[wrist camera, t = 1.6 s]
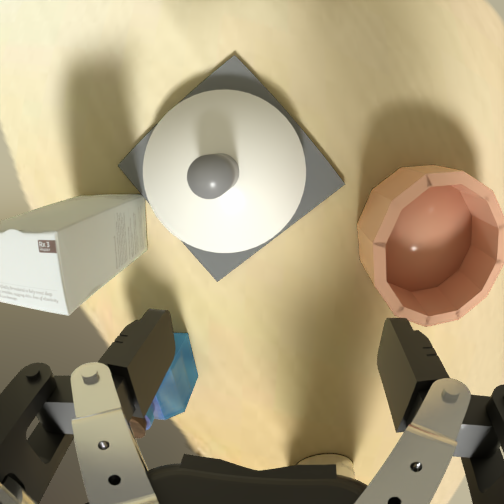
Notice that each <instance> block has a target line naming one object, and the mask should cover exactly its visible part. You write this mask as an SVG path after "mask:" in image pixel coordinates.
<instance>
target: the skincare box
mask: <svg viewBox="0 0 504 504" xmlns="http://www.w3.org/2000/svg"><path fill="white" fill-rule="evenodd" d="M146 251H147V234H146V210H145V198H144V197H143V195H142V194H105V195H92V196H77V197H74V198H70V199H67V200H64V201H60V202H57V203H54V204H50V205H47V206H44V207H41V208H38V209H35V210H32V211H29V212H26V213H23V214H20V215H17V216H14V217H11V218H8V219H6V220H3V221H0V302H4V303H9V304H14V305H18V306H23V307H27V308H32V309H37V310H42V311H47V312H52V313H58V314H64V315H70V314H71V313H72V312H73V311H74V310H75V309H76V308H78V307H79V306H80V305H81V304H82V303H83V302H85V301H86V300H87V299H88V298H89V297H90V296H91V295H93V294H94V293H95V292H96V291H97V290H98V289H100V288H101V287H102V286H104V285H105V284H106V283H107V282H108V281H110V280H111V279H112V278H113V277H115V276H116V275H117V274H118V273H119V272H121V271H122V270H123V269H124V268H126V267H127V266H128V265H129V264H131V263H132V262H133V261H134V260H136V259H137V258H138V257H139V256H141V255H142V254H143V253H144V252H146Z"/></svg>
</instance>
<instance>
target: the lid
mask: <svg viewBox="0 0 504 504" xmlns="http://www.w3.org/2000/svg"><path fill="white" fill-rule="evenodd" d="M143 181H144V188H145V192H146V195H147V198H148V201H149V203H150V206H151V208H152V209H153V211H154V213H155V215H156V216H157V218H158V219H159V220H160V222H161V223H162V224H163V225H164V226H165V227H166V228H167V229H168V231H169V232H171V233H172V234H173V235H174V236H176V237H177V238H178V239H180V240H182V241H183V242H185V243H186V244H189V245H191V246H193V247H195V248H198V249H201V250H205V251H210V252H215V253H234V252H240V251H245V250H248V249H251V248H254V247H257V246H259V245H261V244H263V243H265V242H267V241H268V240H270V239H271V238H273V237H274V236H275V235H276V234H278V233H279V232H280V231H281V230H282V229H283V228H284V227H285V226H286V224H287V223H288V222H289V221H290V219H291V218H292V216H293V215H294V213H295V212H296V210H297V208H298V206H299V204H300V201H301V198H302V195H303V192H304V187H305V181H306V163H305V156H304V152H303V148H302V145H301V142H300V140H299V137H298V135H297V133H296V132H295V130H294V128H293V126H292V125H291V124H290V122H289V121H288V120H287V118H286V117H285V116H284V115H283V114H282V113H281V112H280V111H279V110H278V109H276V108H275V107H274V106H273V105H271V104H270V103H268V102H267V101H265V100H263V99H261V98H260V97H257V96H255V95H252V94H250V93H246V92H242V91H237V90H228V89H225V90H212V91H206V92H202V93H199V94H196V95H193V96H191V97H189V98H187V99H185V100H183V101H182V102H180V103H179V104H177V105H175V106H174V107H173V108H172V109H171V110H170V111H168V112H167V113H166V114H165V116H164V117H163V118H162V119H161V120H160V121H159V123H158V124H157V126H156V127H155V129H154V130H153V132H152V134H151V136H150V138H149V141H148V144H147V146H146V150H145V154H144V160H143Z"/></svg>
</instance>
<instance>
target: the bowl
mask: <svg viewBox="0 0 504 504" xmlns="http://www.w3.org/2000/svg"><path fill="white" fill-rule="evenodd" d="M357 230H358V242H359V255H360V261H361V263H362V265H363V266H364V268H365V270H366V272H367V273H368V275H369V277H370V279H371V280H372V282H373V284H374V286H375V287H376V289H377V290H378V292H379V293H380V295H381V296H382V297H383V299H384V300H385V302H386V303H387V305H388V306H389V308H390V309H391V311H392V312H393V314H394V315H395V316H397V317H400V318H407V320H408V321H411V322H414V323H416V324H419V325H422V326H425V327H427V326H432V325H436V324H441V323H446V322H450V321H454V320H459V319H460V318H461V317H462V316H464V315H465V314H466V313H467V312H469V311H470V310H471V309H472V308H474V307H475V306H476V305H477V304H479V303H480V302H481V301H482V300H483V299H484V298H486V297H487V295H488V294H489V292H490V290H491V288H492V286H493V284H494V282H495V280H496V278H497V276H498V275H499V273H500V271H501V268H502V266H503V264H504V216H503V213H502V211H501V208H500V206H499V204H498V201H497V199H496V197H495V194H494V192H493V190H491V189H490V188H488V187H487V186H485V185H484V184H482V183H481V182H480V181H478V180H477V179H475V178H474V177H472V176H471V175H469V174H467V173H466V172H464V171H461V170H456V169H452V168H447V167H442V166H437V165H425V166H412V167H400V168H399V169H398V170H397V171H395V172H394V173H393V174H391V175H390V176H389V177H388V178H386V179H385V180H384V181H382V182H381V183H380V184H379V185H377V186H376V187H375V188H373V189H372V191H371V193H370V195H369V198H368V200H367V202H366V205H365V207H364V209H363V212H362V214H361V216H360V219H359V221H358V223H357Z"/></svg>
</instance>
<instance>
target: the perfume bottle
mask: <svg viewBox="0 0 504 504" xmlns="http://www.w3.org/2000/svg"><path fill="white" fill-rule="evenodd" d="M173 334H174V340H175V356H174V359H173V361H172V363H171V365H170V367H169V369H168V371H167V373H166V375H165V377H164V379H163V381H162V383H161V385H160V387H159V389H158V391H157V393H156V395H155V397H154V399H153V401H152V403H151V405H150V407H149V409H148V411H147V413H146V415H145V417H144V419H143V418H139V417H134V416H132V418H131V419H130V421H129V423H130V426H131V428H132V431H133V434H134V436H135V438H142V437H143V436H145V431H146V430H147V429H149V428H150V427H151V424H152V422H153V420H154V419H162V420H166V419H168V418H171V417H173V416H175V415H178V414H180V413H182V412H185V409H186V406H187V404H188V401H189V399H190V396H191V393H192V391H193V388H194V386H195V383H196V380H197V378H198V373H197V369H196V365H195V361H194V357H193V353H192V349H191V344H190V340H189V336H188V333H173Z"/></svg>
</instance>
